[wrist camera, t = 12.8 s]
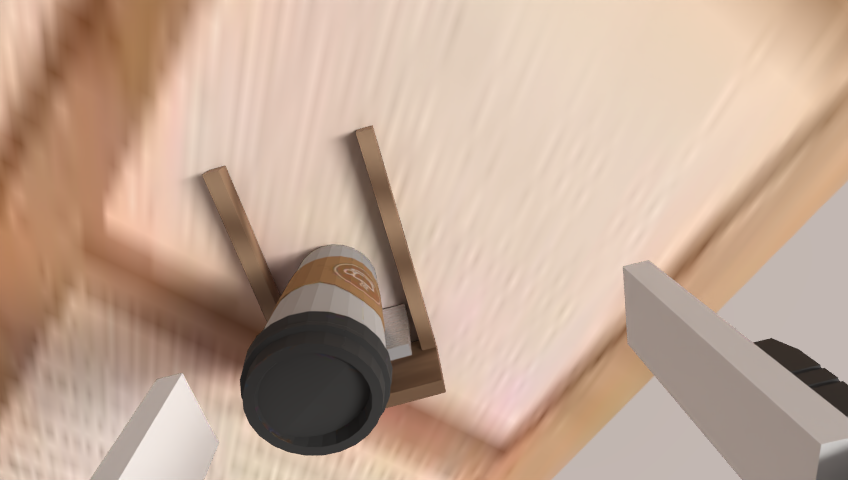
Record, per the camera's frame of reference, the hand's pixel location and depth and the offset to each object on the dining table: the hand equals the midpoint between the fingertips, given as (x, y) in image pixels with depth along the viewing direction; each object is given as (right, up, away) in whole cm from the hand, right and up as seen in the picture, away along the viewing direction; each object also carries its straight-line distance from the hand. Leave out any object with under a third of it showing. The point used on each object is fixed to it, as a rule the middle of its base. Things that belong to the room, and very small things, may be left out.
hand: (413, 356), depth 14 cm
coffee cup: (-7, 0, +25) cm, 26 cm away
